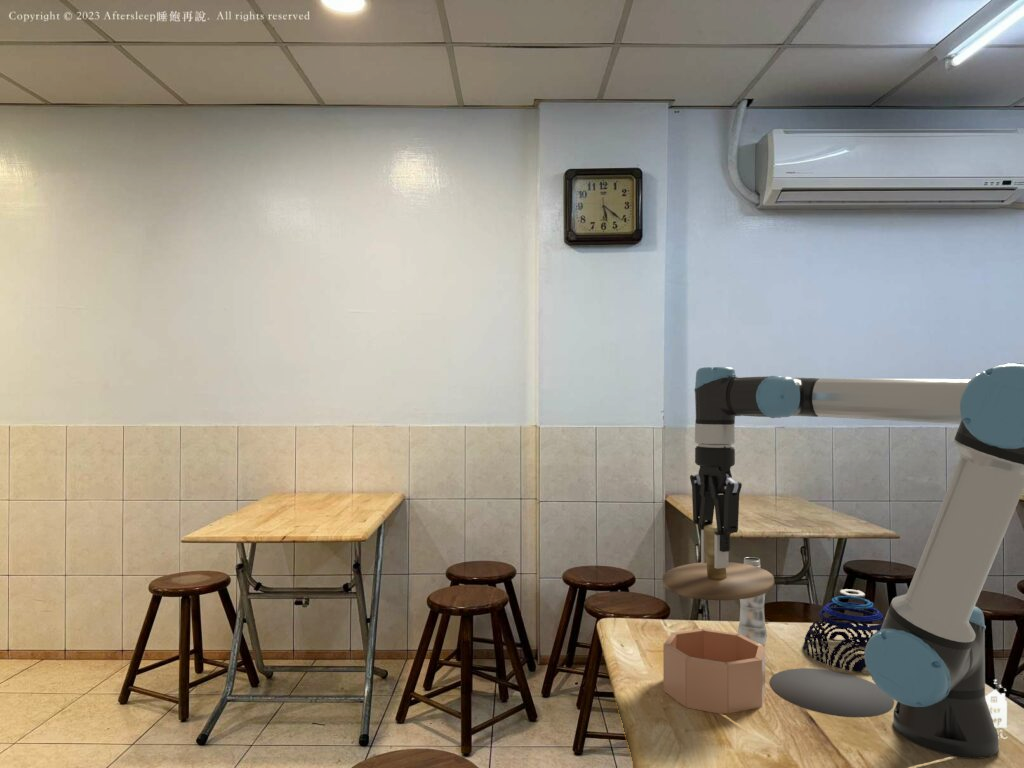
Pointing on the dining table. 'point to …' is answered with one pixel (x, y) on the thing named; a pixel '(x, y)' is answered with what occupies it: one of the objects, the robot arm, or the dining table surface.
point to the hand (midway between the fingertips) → (714, 564)
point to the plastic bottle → (753, 613)
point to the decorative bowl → (843, 625)
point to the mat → (831, 692)
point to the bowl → (714, 670)
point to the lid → (717, 577)
